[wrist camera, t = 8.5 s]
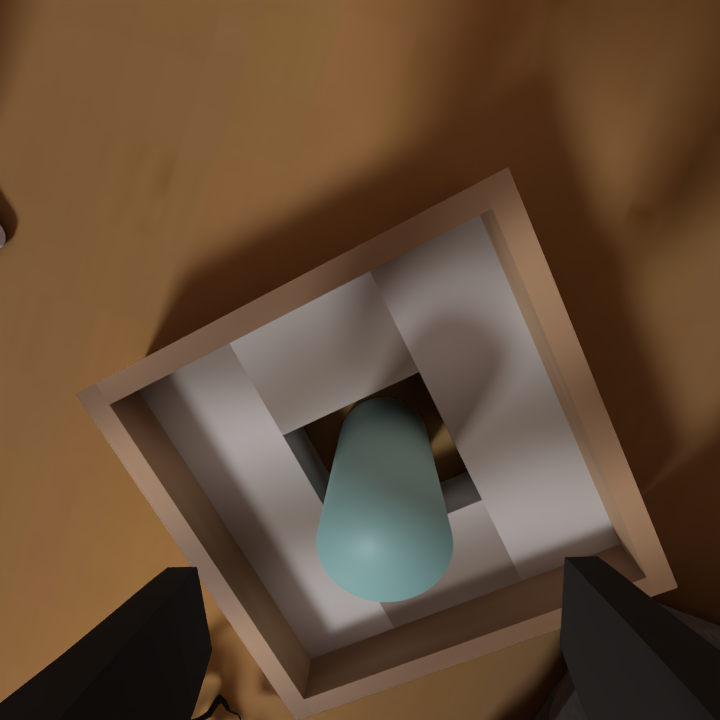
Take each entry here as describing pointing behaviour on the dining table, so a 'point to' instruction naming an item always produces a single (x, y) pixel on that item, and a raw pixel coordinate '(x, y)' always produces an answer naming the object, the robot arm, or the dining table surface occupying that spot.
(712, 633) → the dark faceted flask
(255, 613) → the box
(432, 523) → the peg
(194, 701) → the robot arm
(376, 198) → the dining table surface
